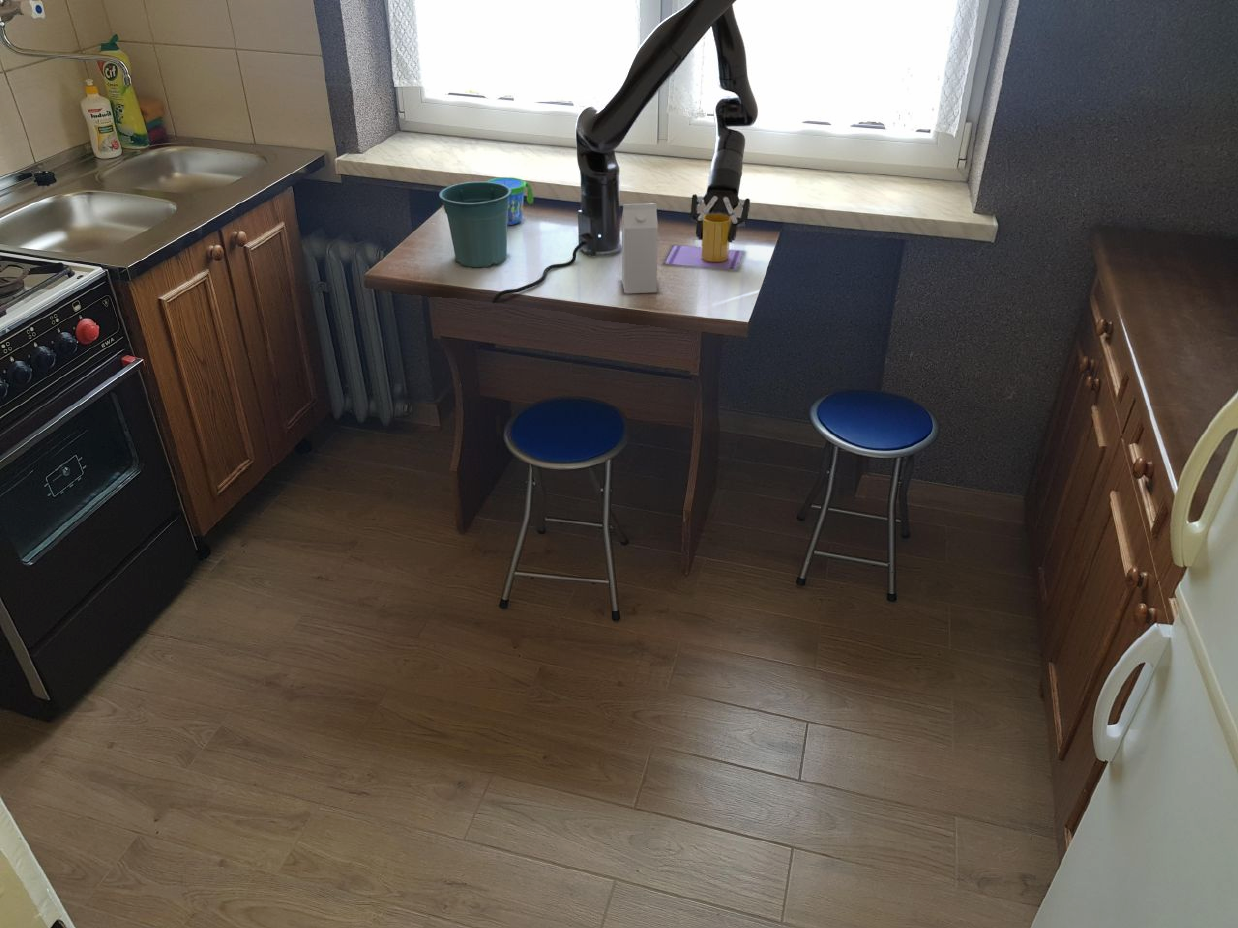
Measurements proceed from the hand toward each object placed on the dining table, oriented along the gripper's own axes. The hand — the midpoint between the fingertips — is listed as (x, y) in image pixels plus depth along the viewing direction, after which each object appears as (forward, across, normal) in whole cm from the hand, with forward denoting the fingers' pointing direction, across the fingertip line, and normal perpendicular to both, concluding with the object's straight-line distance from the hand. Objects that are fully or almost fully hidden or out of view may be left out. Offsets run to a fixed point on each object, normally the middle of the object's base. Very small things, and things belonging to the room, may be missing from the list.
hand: (715, 239), depth 223 cm
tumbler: (+3, 0, +4) cm, 5 cm away
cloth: (+3, -2, +4) cm, 6 cm away
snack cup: (-6, -56, +14) cm, 59 cm away
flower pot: (+12, -54, -4) cm, 56 cm away
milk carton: (+17, -14, -10) cm, 24 cm away
